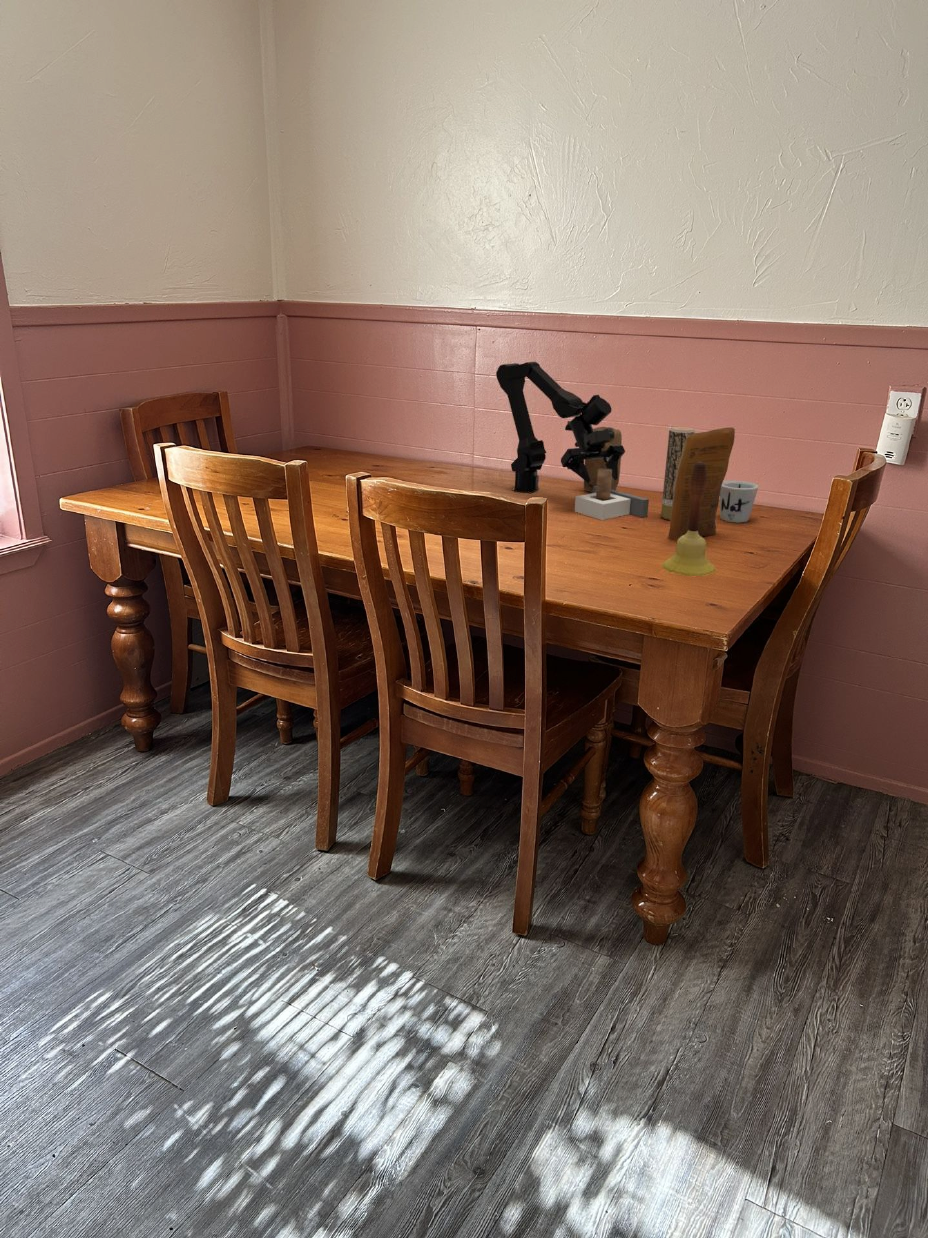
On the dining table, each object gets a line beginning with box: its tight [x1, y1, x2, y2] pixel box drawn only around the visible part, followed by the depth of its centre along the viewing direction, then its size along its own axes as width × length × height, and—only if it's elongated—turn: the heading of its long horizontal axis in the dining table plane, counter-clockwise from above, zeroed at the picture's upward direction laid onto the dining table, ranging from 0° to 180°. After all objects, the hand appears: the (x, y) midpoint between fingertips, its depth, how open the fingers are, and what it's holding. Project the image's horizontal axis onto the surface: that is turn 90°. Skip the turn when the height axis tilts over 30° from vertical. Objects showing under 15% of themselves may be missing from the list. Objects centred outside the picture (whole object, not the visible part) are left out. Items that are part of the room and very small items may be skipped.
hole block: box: [574, 492, 631, 521], centre depth 251 cm, size 11×11×4 cm
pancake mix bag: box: [667, 427, 736, 540], centre depth 227 cm, size 7×19×28 cm, turn 118°
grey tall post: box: [660, 426, 696, 521], centre depth 243 cm, size 7×7×25 cm
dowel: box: [596, 468, 612, 501], centre depth 250 cm, size 4×4×12 cm
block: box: [583, 426, 623, 494], centre depth 271 cm, size 11×8×20 cm
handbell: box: [661, 462, 716, 577], centre depth 202 cm, size 12×12×25 cm
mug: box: [719, 480, 759, 524], centre depth 248 cm, size 10×15×10 cm
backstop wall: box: [593, 486, 650, 518], centre depth 255 cm, size 20×2×5 cm, turn 37°
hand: (602, 480), depth 249 cm, fingers open, 9 cm apart
